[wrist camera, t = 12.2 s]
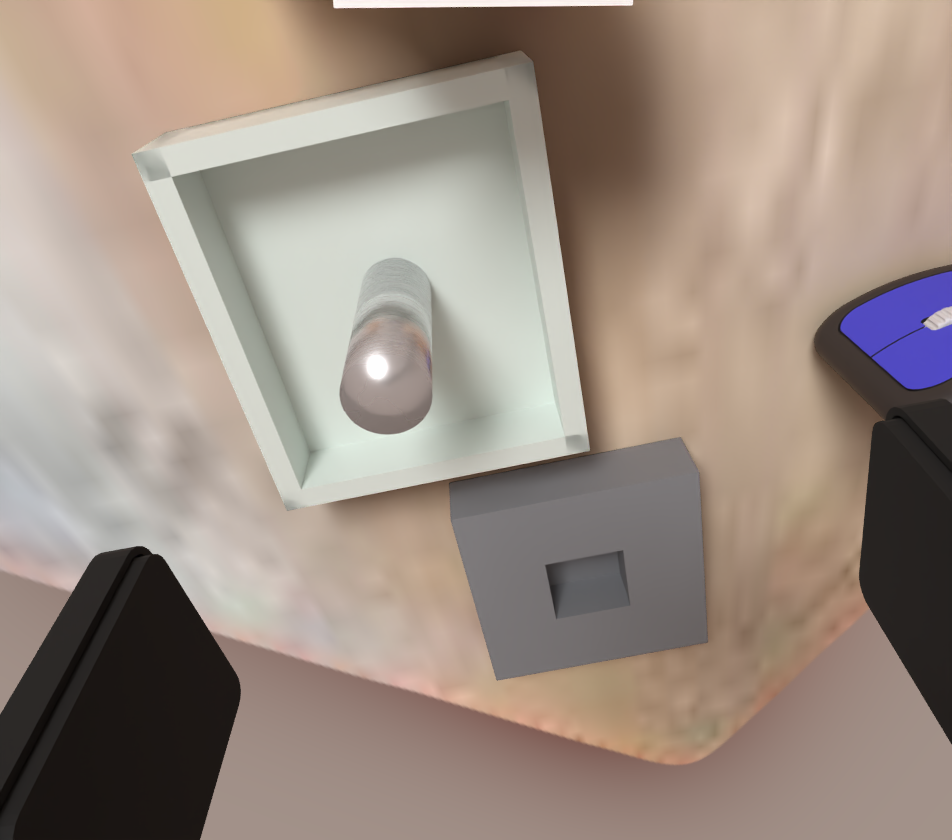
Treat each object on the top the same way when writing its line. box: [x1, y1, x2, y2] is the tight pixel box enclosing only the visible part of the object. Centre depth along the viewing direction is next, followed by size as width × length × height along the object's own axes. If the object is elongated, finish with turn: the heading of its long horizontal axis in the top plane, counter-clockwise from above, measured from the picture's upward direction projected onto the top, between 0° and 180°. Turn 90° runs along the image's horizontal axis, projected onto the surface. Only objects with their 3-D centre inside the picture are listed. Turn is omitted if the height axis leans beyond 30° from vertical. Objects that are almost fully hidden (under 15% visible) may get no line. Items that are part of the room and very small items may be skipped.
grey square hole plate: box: [449, 437, 708, 680], centre depth 40 cm, size 12×12×3 cm
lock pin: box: [339, 258, 432, 435], centre depth 28 cm, size 3×3×9 cm
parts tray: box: [132, 50, 590, 511], centre depth 31 cm, size 14×16×4 cm
